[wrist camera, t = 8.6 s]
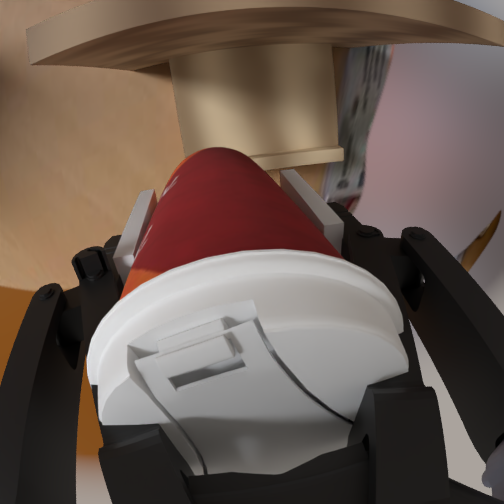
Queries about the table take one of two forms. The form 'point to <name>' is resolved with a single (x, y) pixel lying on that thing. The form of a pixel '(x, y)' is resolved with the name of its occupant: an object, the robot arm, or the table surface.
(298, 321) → the paper cup
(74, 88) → the table surface
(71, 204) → the table surface
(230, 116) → the board
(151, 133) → the table surface
